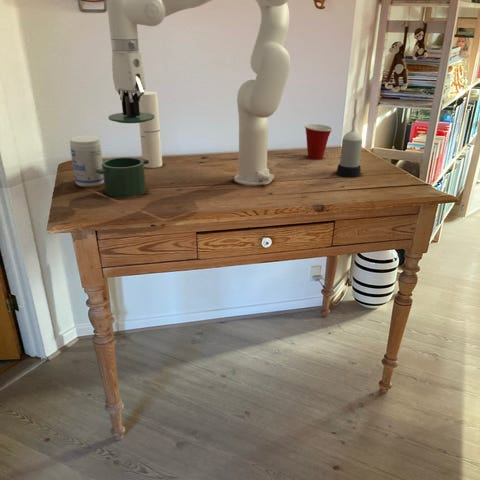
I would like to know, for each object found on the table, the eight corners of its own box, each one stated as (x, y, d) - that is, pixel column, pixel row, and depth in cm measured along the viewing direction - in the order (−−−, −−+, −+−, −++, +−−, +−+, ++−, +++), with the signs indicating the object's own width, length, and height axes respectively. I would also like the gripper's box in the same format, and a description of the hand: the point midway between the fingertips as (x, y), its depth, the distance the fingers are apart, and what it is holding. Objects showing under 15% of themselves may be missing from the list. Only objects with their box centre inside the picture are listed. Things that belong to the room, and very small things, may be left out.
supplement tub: (69, 185, 173) (62, 140, 165) (87, 178, 180) (80, 134, 173) (94, 189, 170) (88, 142, 162) (111, 181, 177) (105, 136, 170)
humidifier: (337, 170, 191) (344, 96, 178) (360, 171, 190) (369, 97, 177) (336, 176, 184) (344, 100, 171) (359, 177, 183) (369, 101, 170)
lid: (163, 120, 157) (162, 96, 154) (126, 126, 149) (123, 101, 146) (136, 114, 166) (134, 91, 162) (99, 119, 157) (96, 96, 154)
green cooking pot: (160, 190, 169) (158, 161, 164) (113, 203, 158) (109, 172, 153) (137, 182, 177) (134, 153, 172) (90, 194, 166) (86, 164, 161)
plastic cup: (331, 161, 202) (334, 128, 195) (303, 161, 202) (306, 128, 195) (328, 154, 211) (331, 123, 205) (301, 154, 211) (303, 122, 205)
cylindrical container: (158, 168, 192) (153, 95, 179) (140, 167, 193) (133, 94, 180) (164, 163, 198) (160, 91, 185) (146, 162, 199) (141, 91, 186)
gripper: (153, 47, 145) (158, 117, 154) (119, 44, 154) (126, 110, 164) (131, 48, 140) (137, 121, 149) (97, 45, 150) (105, 113, 159)
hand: (131, 114), depth 157 cm, fingers closed on lid, 2 cm apart
